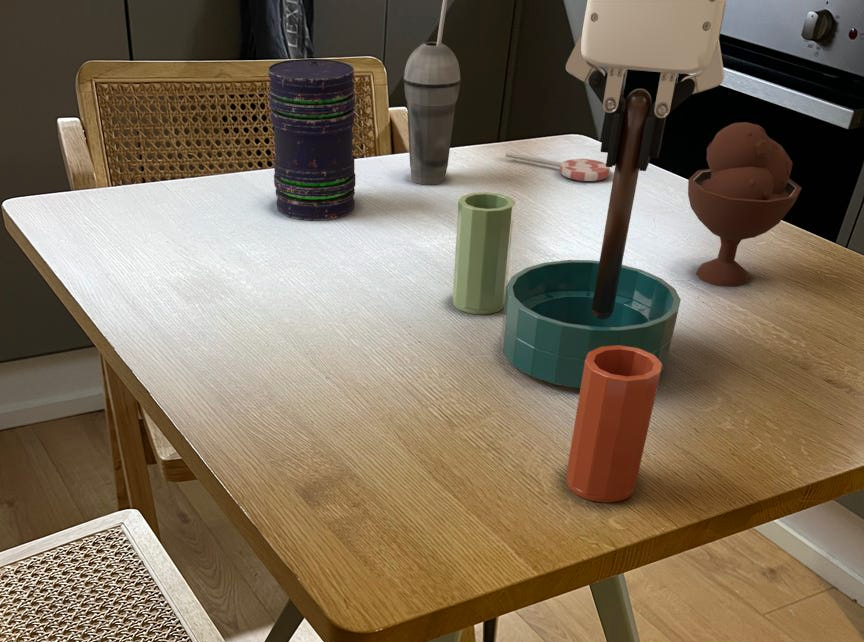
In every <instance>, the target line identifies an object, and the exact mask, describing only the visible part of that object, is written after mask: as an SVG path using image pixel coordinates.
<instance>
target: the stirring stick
mask: <svg viewBox="0 0 864 642" xmlns="http://www.w3.org/2000/svg"><path fill="white" fill-rule="evenodd" d="M651 107H652V96H651V94H650V93H649V91H647V89H644V88H635V89H634V90H632V91H631V92H630V93H629V94H628V96H627V97H626V99H625V110H624V119H623V125H622V131H621V137H620V143H619V149H618V155H617V161H616V164H615V166H614V172H613V177H612V183H611V190H610V195H609V202H608V207H607V214H606V220H605V226H604V231H603V238H602V242H601V243H602V244H601V250H600V256H599V260H598V261H599V267H598V273H597V279H596V285H595V291H594V297H593V303H592V313H593V315H594V317H595V318H597V319H599V320H605V319H608V318H609V317H610V316H611V315H612V313H613V311H614V306H615V300H616V295H617V289H618V284H619V278H620V273H621V267H622V265H623V262H624V256H625V251H626V250H625V249H626V244H627V240H628V233H629V230H630V229H629V228H630V222H631V217H632V212H633V207H634V201H635V196H636V190H637V184H638V178H639V173H640V171H639V169H637V167H638V161H639V155H640V150H641V144H642V139H643V133H644V127H645V122H646V118H647V116H648V115H649V113H650V111H651Z"/></svg>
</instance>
